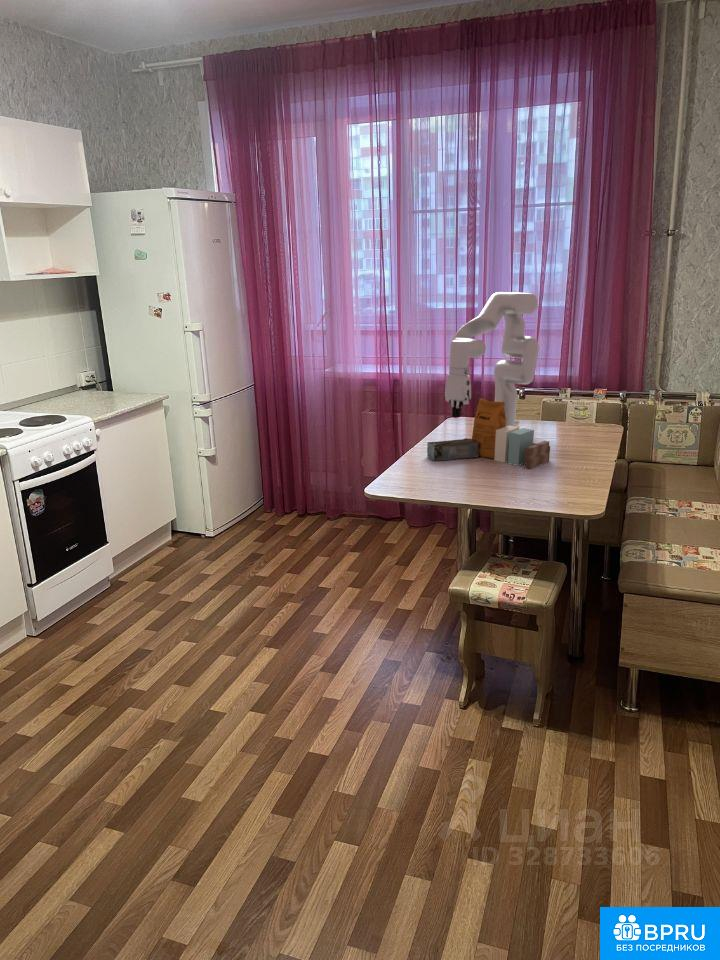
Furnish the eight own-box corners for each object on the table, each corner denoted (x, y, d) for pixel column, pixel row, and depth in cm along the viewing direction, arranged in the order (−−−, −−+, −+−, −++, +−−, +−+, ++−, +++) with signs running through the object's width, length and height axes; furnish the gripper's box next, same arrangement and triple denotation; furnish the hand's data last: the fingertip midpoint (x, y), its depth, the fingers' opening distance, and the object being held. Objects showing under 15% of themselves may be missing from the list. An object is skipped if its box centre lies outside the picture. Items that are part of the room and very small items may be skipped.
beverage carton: (425, 456, 288) (426, 439, 287) (470, 452, 294) (471, 436, 292) (433, 461, 281) (434, 444, 279) (479, 458, 287) (480, 441, 285)
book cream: (506, 455, 291) (508, 425, 287) (517, 457, 288) (519, 427, 285) (494, 460, 284) (496, 430, 280) (504, 462, 281) (506, 431, 277)
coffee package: (480, 449, 299) (483, 395, 292) (507, 455, 291) (511, 400, 284) (466, 454, 292) (469, 399, 285) (493, 460, 284) (496, 403, 277)
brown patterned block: (504, 452, 295) (505, 432, 293) (549, 461, 282) (550, 441, 280) (483, 459, 285) (484, 439, 282) (528, 469, 272) (530, 448, 269)
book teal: (521, 458, 287) (523, 428, 283) (531, 460, 284) (534, 429, 280) (507, 463, 280) (509, 432, 276) (518, 465, 277) (520, 434, 273)
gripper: (479, 372, 290) (476, 418, 295) (448, 368, 299) (446, 413, 304) (468, 374, 284) (466, 421, 289) (437, 370, 294) (435, 415, 299)
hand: (456, 417), depth 297 cm, fingers closed
